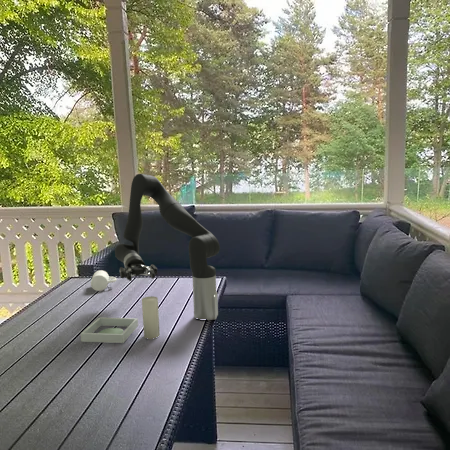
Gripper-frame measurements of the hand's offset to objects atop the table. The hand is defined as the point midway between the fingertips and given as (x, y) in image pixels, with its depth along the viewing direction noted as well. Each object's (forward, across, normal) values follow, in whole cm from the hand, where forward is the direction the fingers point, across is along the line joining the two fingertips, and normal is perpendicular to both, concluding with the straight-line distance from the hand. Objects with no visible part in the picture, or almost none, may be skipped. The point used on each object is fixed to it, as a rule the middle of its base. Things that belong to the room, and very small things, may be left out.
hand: (142, 277), depth 169 cm
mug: (-55, -8, +25) cm, 61 cm away
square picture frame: (+6, -13, +19) cm, 23 cm away
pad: (+6, -13, +19) cm, 23 cm away
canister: (+14, +1, +17) cm, 23 cm away
